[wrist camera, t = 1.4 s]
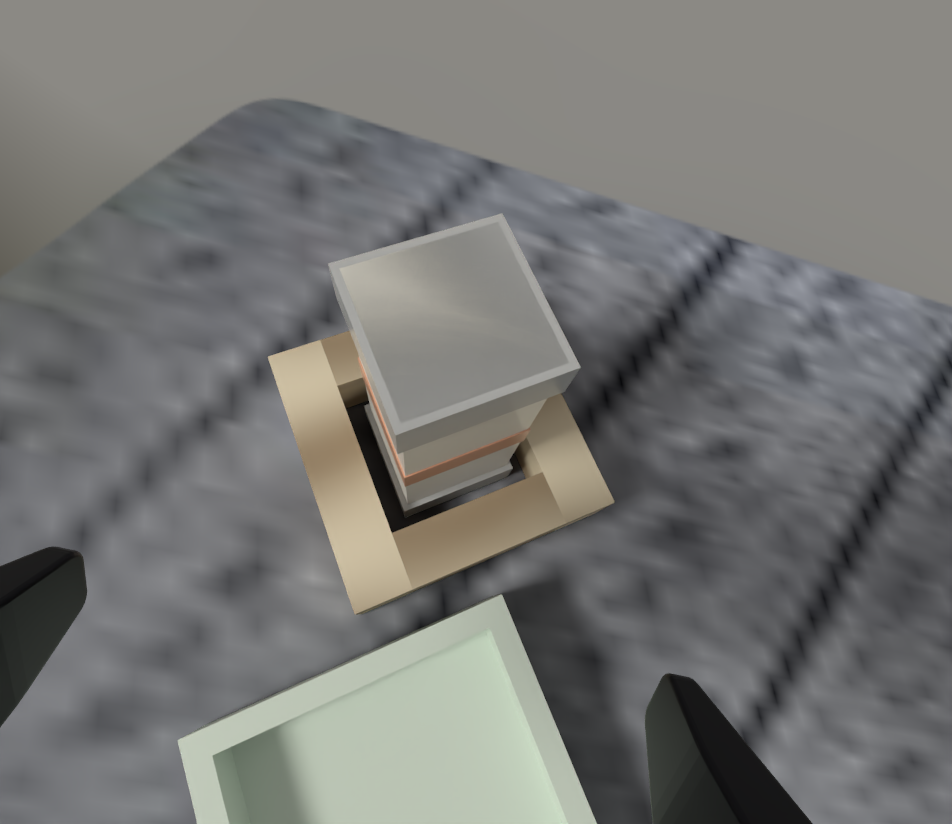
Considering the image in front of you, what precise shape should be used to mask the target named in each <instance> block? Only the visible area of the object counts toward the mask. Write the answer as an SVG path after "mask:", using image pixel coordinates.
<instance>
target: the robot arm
mask: <svg viewBox="0 0 952 824" xmlns="http://www.w3.org/2000/svg"><path fill="white" fill-rule="evenodd" d="M86 596H87V586H86V577H85V568H84V560H83V556H82V555H81V554H80V552H78V551H75V550H70V549H65V548H60V547H48V548H45V549H42V550H39V551H37V552H34V553H32V554H29V555H27V556H24V557H22V558H19V559H17V560H15V561H12V562H10V563H7V564H5V565H2V566H0V727H1V725H2V724H3V723H4V722H5V720H6V719H7V718H8V717H9V715H10V714H11V713H12V711H13V710H14V709H15V707H16V706H17V705H18V703H19V702H20V701H21V699H22V698H23V696H24V695H25V693H26V692H27V691H28V689H29V688H30V686H31V685H32V683H33V682H34V680H35V679H36V677H37V676H38V674H39V673H40V671H41V670H42V668H43V667H44V665H45V664H46V662H47V661H48V659H49V658H50V656H51V654H52V653H53V651H54V650H55V648H56V647H57V645H58V644H59V642H60V641H61V639H62V638H63V636H64V635H65V633H66V632H67V630H68V629H69V627H70V626H71V624H72V623H73V621H74V620H75V618H76V617H77V615H78V614H79V612H80V611H81V609H82V607H83V605H84V603H85V600H86ZM645 730H646V743H647V757H648V770H649V783H650V796H651V809H652V820H653V824H812V822H811V821H810V820H809V819H808V817H807V816H806V815H805V814H804V813H803V811H802V810H801V809H800V808H799V807H798V805H797V804H796V803H795V802H794V800H793V799H792V798H791V797H790V796H789V794H788V793H787V792H786V791H785V790H784V788H783V787H782V786H781V785H780V783H779V782H778V781H777V780H776V779H775V777H774V776H773V775H772V774H771V772H770V771H769V770H768V769H767V768H766V766H765V765H764V764H763V763H762V762H761V760H760V759H759V758H758V757H757V755H756V754H755V753H754V752H753V751H752V749H751V748H750V747H749V746H748V744H747V743H746V742H745V741H744V740H743V738H742V737H741V736H740V735H739V734H738V732H737V731H736V730H735V729H734V727H733V726H732V725H731V724H730V723H729V721H728V720H727V719H726V718H725V717H724V715H723V714H722V713H721V712H720V710H719V709H718V708H717V707H716V706H715V704H714V703H713V702H712V701H711V699H710V698H709V697H708V696H707V695H706V693H705V692H704V691H703V690H702V689H701V687H700V686H699V685H698V684H697V683H696V682H695V681H694V680H693V679H691V678H689V677H685V676H680V675H675V674H671V673H669V674H665V675H664V676H663V677H662V679H661V681H660V683H659V685H658V687H657V689H656V690H655V692H654V694H653V696H652V698H651V700H650V702H649V704H648V707H647V710H646V715H645Z"/></svg>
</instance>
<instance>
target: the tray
mask: <svg viewBox="0 0 952 824" xmlns="http://www.w3.org/2000/svg"><path fill="white" fill-rule="evenodd" d="M178 744H179V748H180V752H181V757H182V761H183V765H184V769H185V773H186V778H187V782H188V786H189V790H190V795H191V799H192V803H193V807H194V811H195V816H196V820H197V824H597V823H596V820H595V818H594V816H593V813H592V811H591V808H590V806H589V804H588V801H587V799H586V796H585V794H584V791H583V789H582V787H581V784H580V782H579V779H578V777H577V775H576V772H575V770H574V767H573V765H572V762H571V760H570V758H569V755H568V753H567V750H566V748H565V746H564V743H563V741H562V738H561V736H560V733H559V731H558V729H557V726H556V724H555V721H554V719H553V717H552V714H551V712H550V709H549V707H548V704H547V702H546V700H545V697H544V695H543V692H542V690H541V688H540V685H539V683H538V680H537V678H536V675H535V673H534V671H533V668H532V666H531V663H530V661H529V659H528V656H527V654H526V651H525V649H524V647H523V644H522V642H521V639H520V637H519V634H518V632H517V630H516V627H515V625H514V622H513V620H512V618H511V615H510V613H509V610H508V608H507V605H506V603H505V601H504V598H503V596H502V594H501V595H496V596H492V597H490V598H487V599H485V600H483V601H481V602H478V603H476V604H474V605H472V606H469V607H467V608H465V609H463V610H461V611H458V612H456V613H454V614H452V615H449V616H447V617H445V618H443V619H441V620H438V621H436V622H434V623H432V624H429V625H427V626H425V627H423V628H420V629H418V630H416V631H414V632H412V633H409V634H407V635H405V636H403V637H400V638H398V639H396V640H394V641H391V642H389V643H387V644H385V645H383V646H380V647H378V648H376V649H374V650H371V651H369V652H367V653H365V654H363V655H360V656H358V657H356V658H354V659H351V660H349V661H347V662H345V663H342V664H340V665H338V666H336V667H334V668H331V669H329V670H327V671H325V672H322V673H320V674H318V675H316V676H313V677H311V678H309V679H307V680H305V681H302V682H300V683H298V684H296V685H293V686H291V687H289V688H287V689H284V690H282V691H280V692H278V693H276V694H273V695H271V696H269V697H267V698H264V699H262V700H260V701H258V702H256V703H253V704H251V705H249V706H247V707H244V708H242V709H240V710H238V711H235V712H233V713H231V714H229V715H227V716H224V717H222V718H220V719H218V720H215V721H213V722H211V723H209V724H207V725H205V726H203V727H201V728H199V729H197V730H195V731H194V732H192V733H190V734H188V735H186V736H184V737H182V738H181V739H179V740H178Z"/></svg>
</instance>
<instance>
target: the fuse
mask: <svg viewBox="0 0 952 824" xmlns="http://www.w3.org/2000/svg"><path fill="white" fill-rule="evenodd" d="M328 266H329V270H330V274H331V278H332V282H333V286H334V289H335V293H336V297H337V300H338V303H339V305H340V308H341V310H342V313H343V316H344V318H345V321H346V323H347V326H348V328H349V331H350V333H351V336H352V339H353V341H354V344H355V346H356V349H357V351H358V354H359V357H358V362H359V367H360V371H361V374H362V377H363V380H364V382H365V385H366V390H367V394H368V399H369V403H370V404H367V405H364V408H365V412H366V416H367V419H368V422H369V424H370V427H371V430H372V432H373V435H374V438H375V440H376V443H377V445H378V448H379V451H380V453H381V456H382V459H383V461H384V464H385V466H386V469H387V472H388V474H389V477H390V480H391V482H392V485H393V487H394V490H395V493H396V495H397V498H398V501H399V503H400V506H401V508H402V511H403V514H404V516H405V518H406V517H408V516H411V515H413V514H416V513H418V512H421V511H423V510H426V509H428V508H431V507H433V506H436V505H438V504H441V503H443V502H446V501H448V500H451V499H453V498H456V497H458V496H461V495H463V494H466V493H468V492H471V491H473V490H476V489H478V488H481V487H483V486H486V485H488V484H491V483H493V482H496V481H498V480H501V479H503V478H506V477H507V476H508V475H509V473H510V472H511V470H512V469H513V467H512V465H511V463H510V458H511V457H512V455H513V453H514V452H515V450H516V448H517V447H518V445H519V444H520V442H522V441H524V440H525V438H526V436H527V435H528V433H529V432H530V430H531V429H530V426H531V424H532V422H533V421H534V419H535V418H536V416H537V414H538V413H539V411H540V409H541V408H542V406H543V405H544V403H545V401H546V400H547V398H549V397H552V396H555V395H557V394H560V393H563V392H565V390H566V389H567V387H568V386H569V384H570V383H571V382H572V380H573V379H574V377H575V376H576V374H577V373H578V371H579V370H580V368H581V367H580V365H579V363H578V361H577V359H576V357H575V355H574V353H573V351H572V349H571V347H570V345H569V343H568V341H567V339H566V337H565V335H564V333H563V331H562V329H561V327H560V325H559V323H558V322H557V320H556V318H555V316H554V314H553V312H552V310H551V308H550V306H549V304H548V302H547V300H546V298H545V296H544V294H543V292H542V290H541V288H540V286H539V284H538V282H537V280H536V278H535V276H534V274H533V273H532V271H531V269H530V267H529V265H528V263H527V261H526V259H525V257H524V255H523V253H522V251H521V249H520V247H519V245H518V243H517V241H516V239H515V237H514V235H513V233H512V231H511V229H510V227H509V225H508V223H507V222H506V220H505V218H504V216H503V214H498V215H495V216H491V217H488V218H485V219H481V220H478V221H474V222H471V223H467V224H464V225H460V226H457V227H453V228H450V229H446V230H443V231H440V232H436V233H433V234H429V235H426V236H422V237H419V238H415V239H412V240H408V241H405V242H402V243H398V244H395V245H391V246H388V247H384V248H381V249H377V250H374V251H370V252H367V253H363V254H360V255H357V256H353V257H350V258H346V259H343V260H339V261H336V262H332V263H329V264H328Z"/></svg>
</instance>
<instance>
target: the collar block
mask: <svg viewBox="0 0 952 824" xmlns="http://www.w3.org/2000/svg"><path fill="white" fill-rule="evenodd" d="M358 357H359V354H358V351H357V349H356V346H355V344H354V341H353V339H352V336H351V333H350V331H347V332H344V333H341V334H338V335H335V336H332V337H328V338H325V339H322V340H319V341H316V342H313V343H309V344H306V345H303V346H300V347H297V348H294V349H291V350H287V351H284V352H281V353H278V354H275V355H272V356H268V359H269V362H270V365H271V368H272V371H273V374H274V377H275V380H276V383H277V386H278V389H279V392H280V395H281V398H282V401H283V404H284V407H285V409H286V412H287V415H288V418H289V421H290V424H291V427H292V430H293V433H294V436H295V439H296V442H297V445H298V448H299V451H300V454H301V457H302V460H303V463H304V466H305V469H306V472H307V475H308V477H309V480H310V483H311V486H312V489H313V492H314V495H315V498H316V501H317V504H318V507H319V510H320V513H321V516H322V519H323V522H324V525H325V528H326V531H327V534H328V537H329V540H330V543H331V545H332V548H333V551H334V554H335V557H336V560H337V563H338V566H339V569H340V572H341V575H342V578H343V581H344V584H345V587H346V590H347V593H348V596H349V599H350V602H351V605H352V608H353V611H354V613H355V614H363V613H366V612H368V611H370V610H373V609H375V608H377V607H379V606H382V605H384V604H386V603H389V602H391V601H393V600H396V599H398V598H400V597H403V596H405V595H407V594H410V593H412V592H414V591H416V590H419V589H421V588H423V587H426V586H428V585H430V584H433V583H435V582H437V581H440V580H442V579H444V578H447V577H449V576H451V575H453V574H456V573H458V572H460V571H463V570H465V569H467V568H470V567H472V566H474V565H477V564H479V563H481V562H484V561H486V560H488V559H490V558H493V557H495V556H497V555H500V554H502V553H504V552H507V551H509V550H511V549H514V548H516V547H518V546H521V545H523V544H525V543H528V542H530V541H532V540H534V539H537V538H539V537H541V536H544V535H546V534H548V533H551V532H553V531H555V530H558V529H560V528H562V527H565V526H567V525H569V524H571V523H574V522H576V521H578V520H581V519H583V518H585V517H588V516H590V515H592V514H595V513H596V512H598V511H600V510H602V509H604V508H605V507H607V506H609V505H611V504H613V503H615V501H614V499H613V497H612V495H611V493H610V491H609V489H608V487H607V485H606V483H605V481H604V479H603V477H602V475H601V473H600V471H599V469H598V467H597V465H596V463H595V461H594V459H593V457H592V455H591V453H590V451H589V449H588V447H587V445H586V443H585V440H584V438H583V436H582V434H581V432H580V430H579V428H578V426H577V424H576V422H575V420H574V418H573V416H572V414H571V412H570V410H569V408H568V406H567V404H566V402H565V400H564V398H563V396H562V394H561V393H560V394H557V395H555V396H552V397H549V398H547V400H546V401H545V403H544V405H543V406H542V408H541V409H540V411H539V413H538V414H537V416H536V418H535V419H534V421H533V422H532V424H531V426H530V429H531V430H530V432H529V433H528V435H527V436H526V438H525V440H524V441H522V442H520V444H519V445H518V447H517V448H516V450H515V452H514V453H515V455H516V457H517V459H518V462H519V464H520V466H521V468H522V470H523V473H524V475H525V477H526V479H524V480H522V481H519V482H517V483H514V484H512V485H509V486H507V487H504V488H502V489H499V490H497V491H495V492H492V493H490V494H487V495H485V496H482V497H480V498H477V499H475V500H472V501H470V502H467V503H465V504H462V505H460V506H457V507H455V508H453V509H450V510H448V511H445V512H443V513H440V514H438V515H435V516H433V517H430V518H428V519H425V520H423V521H420V522H418V523H415V524H413V525H411V526H408V527H406V528H403V529H401V530H398V531H396V532H393V533H392V532H391V530H390V527H389V524H388V522H387V519H386V516H385V514H384V511H383V508H382V505H381V503H380V500H379V497H378V495H377V492H376V489H375V487H374V484H373V481H372V478H371V476H370V473H369V470H368V468H367V465H366V462H365V460H364V457H363V454H362V452H361V449H360V446H359V443H358V441H357V438H356V435H355V433H354V430H353V427H352V425H351V422H350V419H349V416H348V414H347V411H346V408H348V407H351V406H354V405H357V404H360V403H363V402H366V401H369V399H368V394H367V390H366V385H365V382H364V380H363V377H362V374H361V371H360V367H359V362H358Z"/></svg>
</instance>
